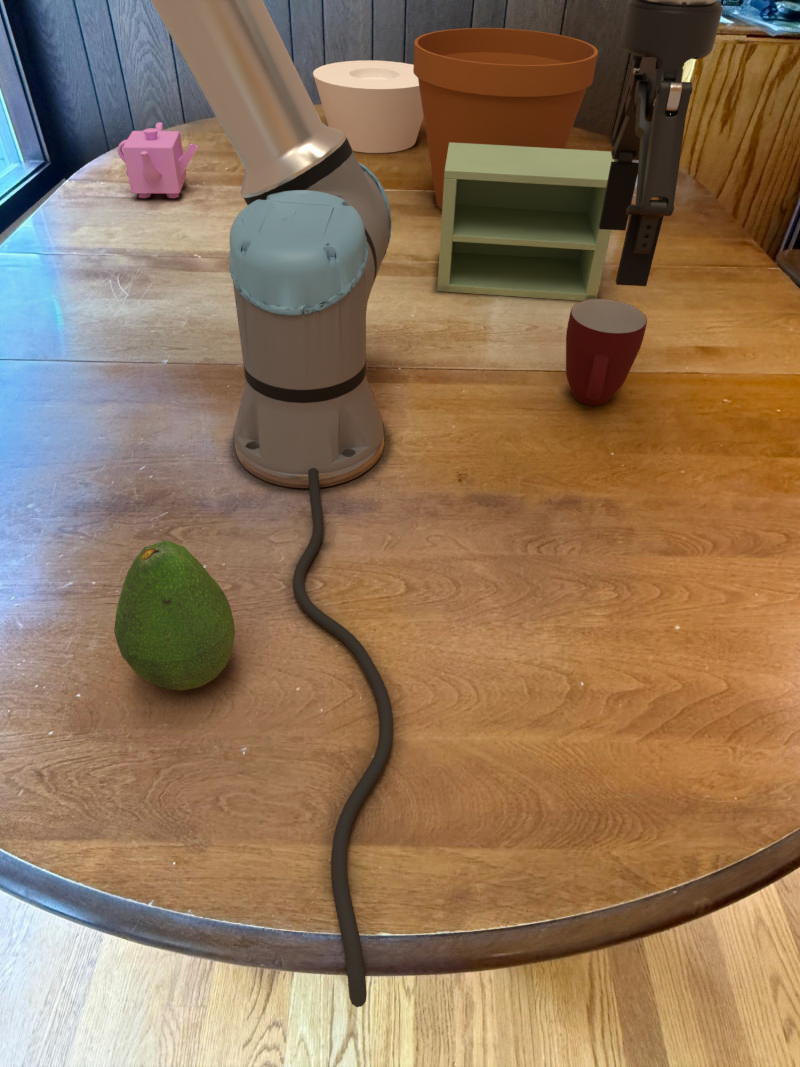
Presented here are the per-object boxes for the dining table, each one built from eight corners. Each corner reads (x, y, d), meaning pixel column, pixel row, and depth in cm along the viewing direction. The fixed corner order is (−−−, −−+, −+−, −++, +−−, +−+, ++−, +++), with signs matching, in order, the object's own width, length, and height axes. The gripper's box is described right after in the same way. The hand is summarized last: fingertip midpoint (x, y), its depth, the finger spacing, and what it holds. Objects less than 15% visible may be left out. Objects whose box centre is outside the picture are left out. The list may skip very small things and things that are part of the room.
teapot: (197, 210, 128) (188, 146, 121) (116, 210, 127) (102, 145, 120) (209, 174, 141) (201, 115, 134) (135, 174, 140) (123, 114, 133)
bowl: (383, 117, 172) (383, 55, 164) (456, 144, 159) (460, 78, 151) (292, 135, 161) (288, 69, 152) (363, 166, 147) (363, 95, 139)
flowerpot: (381, 188, 138) (382, 33, 122) (512, 169, 148) (529, 24, 132) (461, 245, 120) (475, 72, 104) (604, 219, 130) (637, 57, 114)
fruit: (157, 734, 54) (120, 621, 46) (115, 660, 59) (75, 546, 51) (259, 681, 58) (241, 567, 50) (212, 616, 62) (189, 502, 54)
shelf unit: (596, 301, 107) (621, 180, 96) (437, 291, 108) (444, 170, 97) (588, 266, 116) (611, 151, 105) (441, 256, 117) (449, 142, 106)
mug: (632, 432, 83) (655, 348, 77) (557, 425, 84) (573, 342, 77) (622, 381, 91) (642, 301, 85) (554, 375, 92) (568, 295, 85)
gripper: (766, 26, 53) (683, 314, 67) (692, -24, 72) (639, 211, 86) (656, 21, 53) (597, 309, 68) (610, -27, 72) (571, 207, 86)
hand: (620, 254), depth 77 cm, fingers open, 13 cm apart
